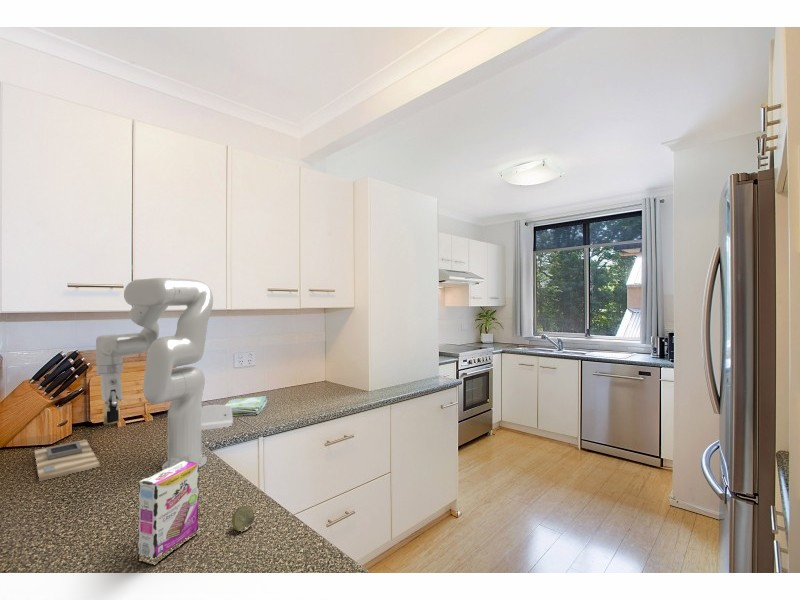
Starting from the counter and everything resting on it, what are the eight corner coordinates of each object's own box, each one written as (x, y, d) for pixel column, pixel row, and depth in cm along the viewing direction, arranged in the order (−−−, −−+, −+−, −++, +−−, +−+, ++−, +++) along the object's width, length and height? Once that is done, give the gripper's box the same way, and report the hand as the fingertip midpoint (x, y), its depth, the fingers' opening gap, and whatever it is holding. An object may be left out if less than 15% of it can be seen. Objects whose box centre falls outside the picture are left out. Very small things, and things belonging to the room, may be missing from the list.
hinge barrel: (115, 423, 135) (115, 403, 136) (101, 425, 134) (100, 405, 134) (121, 420, 140) (120, 400, 140) (107, 421, 139) (106, 402, 139)
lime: (255, 523, 91) (255, 502, 91) (248, 535, 86) (248, 513, 86) (236, 523, 91) (236, 502, 91) (228, 536, 86) (228, 513, 86)
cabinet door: (99, 467, 123) (99, 458, 123) (39, 482, 113) (39, 472, 113) (86, 443, 144) (86, 435, 144) (34, 454, 134) (34, 445, 134)
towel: (217, 418, 174) (217, 407, 174) (231, 406, 195) (231, 396, 195) (259, 416, 177) (259, 405, 177) (268, 404, 198) (268, 394, 198)
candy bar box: (156, 567, 76) (155, 484, 76) (136, 562, 78) (136, 481, 78) (200, 534, 87) (199, 461, 87) (182, 530, 88) (182, 459, 88)
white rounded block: (188, 431, 156) (189, 406, 159) (190, 431, 160) (191, 407, 164) (232, 426, 162) (233, 402, 165) (233, 427, 166) (233, 403, 169)
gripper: (127, 370, 134) (129, 422, 134) (118, 366, 146) (119, 414, 146) (100, 373, 129) (102, 427, 128) (93, 368, 141) (94, 418, 140)
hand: (111, 420), depth 137 cm, fingers closed on hinge barrel, 4 cm apart
